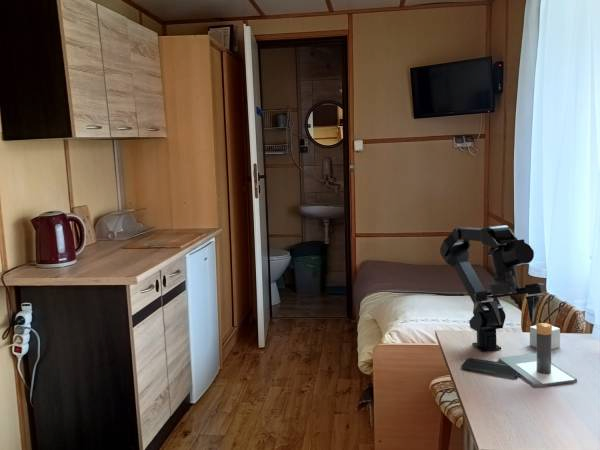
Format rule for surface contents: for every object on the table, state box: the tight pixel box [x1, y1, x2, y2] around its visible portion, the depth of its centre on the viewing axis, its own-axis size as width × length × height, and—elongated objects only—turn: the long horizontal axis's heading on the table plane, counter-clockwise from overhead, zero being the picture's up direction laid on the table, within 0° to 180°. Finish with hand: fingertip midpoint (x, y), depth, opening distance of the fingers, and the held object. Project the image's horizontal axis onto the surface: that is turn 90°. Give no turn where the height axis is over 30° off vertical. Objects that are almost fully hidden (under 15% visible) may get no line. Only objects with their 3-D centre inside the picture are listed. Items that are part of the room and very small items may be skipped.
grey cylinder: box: [536, 322, 553, 374], centre depth 142 cm, size 4×4×13 cm
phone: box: [461, 357, 520, 380], centre depth 148 cm, size 8×1×15 cm
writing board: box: [498, 352, 578, 388], centre depth 146 cm, size 18×12×1 cm, turn 8°
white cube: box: [529, 325, 561, 350], centre depth 162 cm, size 6×6×6 cm
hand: (515, 323), depth 149 cm, fingers open, 9 cm apart
